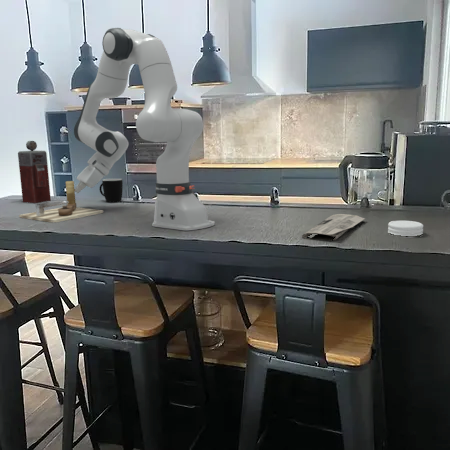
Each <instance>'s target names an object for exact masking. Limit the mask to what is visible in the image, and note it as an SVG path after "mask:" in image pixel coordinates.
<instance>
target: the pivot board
mask: <svg viewBox="0 0 450 450" xmlns="http://www.w3.org/2000/svg"><path fill="white" fill-rule="evenodd" d="M76 207H77V206H76ZM59 208H60V207H58V208H57V207H56V208H52V209H47V210H45V209H44V216H37V215H36V211H35V212H34V211H33V212H30V213H29V212H28V213H23V214H19V215H18V217H19V218H21V219H28V220H33V221H40V222H46V223H60V222H64V221H70V220H75V219H79V218H85V217H90V216H95V215H99V214H103V213H104V210H103V209H94V208H93V209H92V208H85V207H77V208H76V209H75V210H73V211H72V214H69V215H59V213H58V209H59ZM61 208H63V207H62V206H61Z"/></svg>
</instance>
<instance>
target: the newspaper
mask: <svg viewBox="0 0 450 450" xmlns="http://www.w3.org/2000/svg"><path fill="white" fill-rule="evenodd" d="M365 219H366V218H364V217H361V216H359V215H355V214H346V213H345V214H344V213H338V214H337V213H336V214H332V215H330V216H329V217H326V218H325V219H324V220H322V221H320V222H319V223H318V224H316V225H314V226H313V227H312V228H310V229H309V230H307V231H306V232H304V233H303V234H302V235H301V239H307V238H306V237H308V236H310V235H312V234H319V235H325V236H328V237H333V238H334V237H335V238H334V239H333V238H332V239H333V241H336V240H338V238H339V237H341V236H342V235H343V234H345V233H346V232H348V231H349V230H350V229H352V228H354V227H355V226H356V225H358V224H359V223H361V222H362V221H364V220H365Z"/></svg>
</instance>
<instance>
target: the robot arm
mask: <svg viewBox="0 0 450 450" xmlns="http://www.w3.org/2000/svg"><path fill="white" fill-rule="evenodd" d="M101 44H102V49H103V51H102V54H101V57H100V60H99V64H98V69H97V74H96V77H95V79H94V81H92V82H91V83H90V84H89V86H88V89H87V92H86V95H85V99H84V101H83V105H82V108H81V112H80V114H79V116H78V119H77V121H76V122H75V124H74V128H73V135H74V137H75V139H76V140H77V141H78V142H80V143H82V144H85V145H86V146H87V147H89V148H91V149H92V150H94V151H95V153H93V154H92V156H91V157H90V158H89V159H88V161H87V164H88V165H87V166H86V167H85V168H84V169H82V170H81V172H80V173H78V175H77V177H76V180H78V183H77V185H76V187H74V189H75V193H76V194H79V193H81V192H82V191H83V189H84V190H85V188H86V187H87V188H90V189H92V188H94V187H95V186H96V185H98V183H99V182H101V181H102V180H103V178H104V177H107V176H108V175H109V174H110V170H111V169H112V168H113V166H114V164H115V163H116V162H117V161H119V160H120V159H121V158H122V156H123V155H124V154H125V153H126V152H127V149H128V147H129V140H128V139H127V137H126V136H125V135H124V134H123V133H122V132H120V131H113V130H110V129H107V128H106V127H104V126H102V125H100V124H99V123H98V121H97V115H98V112H99V109H100V106H101V103H102V102H103V101H104V99H115V98H118V97H120V96H121V95H123V94H124V93H125V90H126V87H127V84H128V79H129V74H130V69H131V67H132V65H137V66H138V70H139V74H140V78H141V80H142V87H143V91H144V106H143V108H142V110H141V111H140V113H139V114H138V115H137V118H136V121H135V129H136V132H137V135H139V137H140V138H141V139H142V140H144V141H148V142H153V143H166V147H165V149H164V151H163V153H162V154H160V155H159V156H157V159H156V162H155V167H156V168H155V169H156V183H155V193H156V199H155V201H154V213H153V215H154V216H153V222H152V224H151V226H152V227H155V228H163V229H170V230H179V231H196V230H201V229H206V228H210V227H213V226H215V225H216V222H215V220H214V221H213V220H210V219H209V215H208V209H207V207H206V205H205V204H204V203H202V202H201V200H200V199H198V197H197V196H195V194H194V191H193V190H195V185H194V184H193V185H191V182H190V176H189V175H190V174H189V173H190V169H189V168H190V155H191V152H192V149H193V146H194V145H195V142H196V141H197V140H198V139H199V137H200V136H201V135H202V133H203V130H204V121H203V118H202V115H200V113H198V112H197V111H194V110H191V109H187V108H172V106H171V99H172V98H173V97H174V96H175V95H176V93H177V90H178V84H177V83H178V82H177V81H176V76H175V73H174V68H173V66H172V61H171V58H170V56H169V53H168V50H167V49H166V47H165V44H164V43H163V41H162V40H161V39H159V38H157V37H156V36H154V35H152V34H150V33H144V32H142V31H138V30H134V29H130V28H129V29H128V28H121V27H111V28H109V29H107V30H106V31H105V33H104V35H103V38H102V43H101Z"/></svg>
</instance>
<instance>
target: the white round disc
mask: <svg viewBox="0 0 450 450" xmlns="http://www.w3.org/2000/svg"><path fill="white" fill-rule="evenodd" d="M387 226H388V228H387V234H388V233H391V234H394V235H401V236H417V235H421V234H424V233H423V232H424V224H423V223H422V222H419V221H414V220H413V221H412V220H392V221H390V222H388V224H387Z"/></svg>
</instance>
